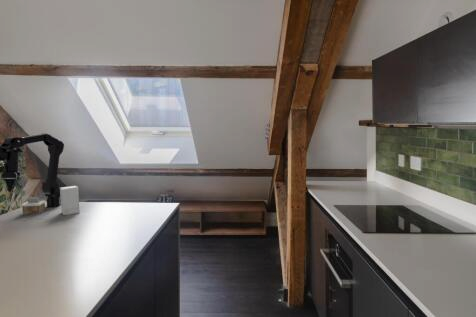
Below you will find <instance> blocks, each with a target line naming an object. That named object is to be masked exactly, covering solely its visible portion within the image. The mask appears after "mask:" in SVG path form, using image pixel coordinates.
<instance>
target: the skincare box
mask: <svg viewBox="0 0 476 317" xmlns="http://www.w3.org/2000/svg"><path fill="white" fill-rule="evenodd" d="M59 190H60V196H61V206H60V207H61V213H62V214H63V215H64V216H65V215H67V216H68V215H74V214H80V213H81V210H80V197H79V196H80V195H79V194H80V193H79V187H78V186H77V185H70V186H64V187H63V186H62V187H59Z"/></svg>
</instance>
